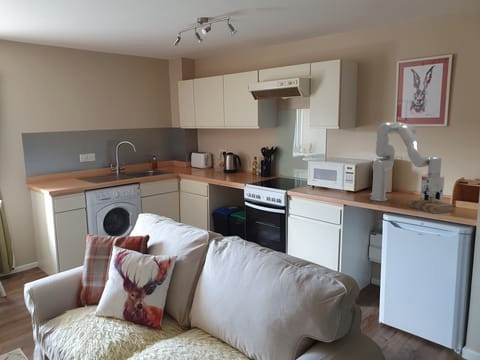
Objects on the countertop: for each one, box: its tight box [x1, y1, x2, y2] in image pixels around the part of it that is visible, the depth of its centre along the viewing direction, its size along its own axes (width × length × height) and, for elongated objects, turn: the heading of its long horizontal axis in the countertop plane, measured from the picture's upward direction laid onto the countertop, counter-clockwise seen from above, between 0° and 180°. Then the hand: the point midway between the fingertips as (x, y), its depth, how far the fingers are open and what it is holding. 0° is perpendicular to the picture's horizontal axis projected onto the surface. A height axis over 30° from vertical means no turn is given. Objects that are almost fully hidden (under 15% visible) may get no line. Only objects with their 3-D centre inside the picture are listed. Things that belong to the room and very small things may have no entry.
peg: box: [429, 196, 435, 203], centre depth 250 cm, size 3×3×9 cm
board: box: [410, 198, 454, 215], centre depth 250 cm, size 20×16×5 cm
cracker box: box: [419, 173, 445, 202], centre depth 268 cm, size 14×6×21 cm, turn 31°
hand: (431, 199), depth 250 cm, fingers open, 9 cm apart
